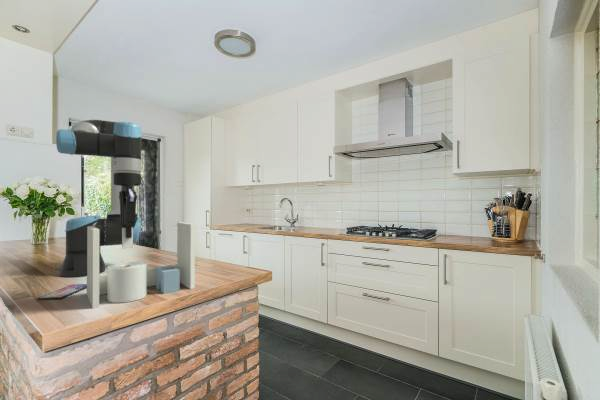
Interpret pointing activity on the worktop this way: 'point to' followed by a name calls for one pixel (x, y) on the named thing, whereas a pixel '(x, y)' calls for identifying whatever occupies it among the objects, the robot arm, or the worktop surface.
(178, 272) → the paddle block
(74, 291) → the smartphone
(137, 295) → the toilet tissue
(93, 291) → the panel frame
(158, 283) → the paddle block
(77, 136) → the robot arm
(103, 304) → the worktop surface
